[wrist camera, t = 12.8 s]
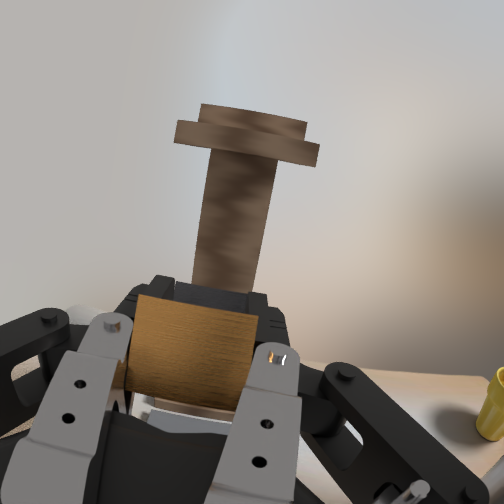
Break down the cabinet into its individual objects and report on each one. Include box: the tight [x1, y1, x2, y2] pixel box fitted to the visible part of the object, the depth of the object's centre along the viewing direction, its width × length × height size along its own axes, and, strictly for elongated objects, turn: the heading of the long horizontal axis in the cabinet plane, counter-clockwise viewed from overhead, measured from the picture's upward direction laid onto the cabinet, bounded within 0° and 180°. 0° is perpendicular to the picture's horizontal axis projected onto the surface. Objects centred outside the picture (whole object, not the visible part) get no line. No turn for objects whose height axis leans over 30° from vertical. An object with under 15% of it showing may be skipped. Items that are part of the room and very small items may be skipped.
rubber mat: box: [147, 409, 232, 435], centre depth 23 cm, size 12×17×1 cm
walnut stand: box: [154, 104, 320, 422], centre depth 33 cm, size 12×10×35 cm
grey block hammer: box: [125, 281, 258, 412], centre depth 15 cm, size 5×16×4 cm, turn 0°
